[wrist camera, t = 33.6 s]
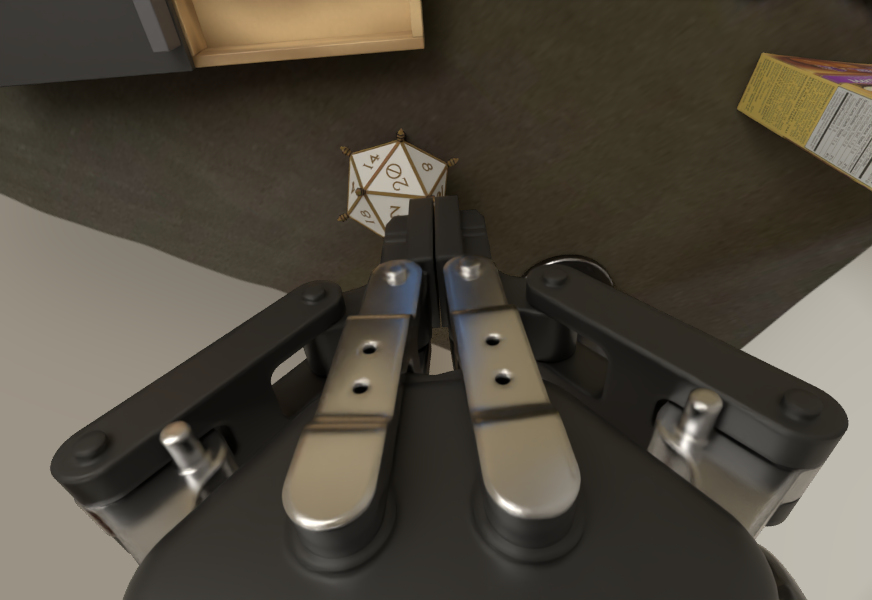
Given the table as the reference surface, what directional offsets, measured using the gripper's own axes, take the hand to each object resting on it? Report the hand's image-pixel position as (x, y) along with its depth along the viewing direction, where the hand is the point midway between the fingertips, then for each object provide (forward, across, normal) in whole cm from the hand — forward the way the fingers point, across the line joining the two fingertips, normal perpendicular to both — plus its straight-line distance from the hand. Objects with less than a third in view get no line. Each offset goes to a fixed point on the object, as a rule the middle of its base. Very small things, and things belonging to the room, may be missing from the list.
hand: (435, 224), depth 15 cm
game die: (+24, +3, +8) cm, 25 cm away
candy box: (+24, -27, +4) cm, 36 cm away
